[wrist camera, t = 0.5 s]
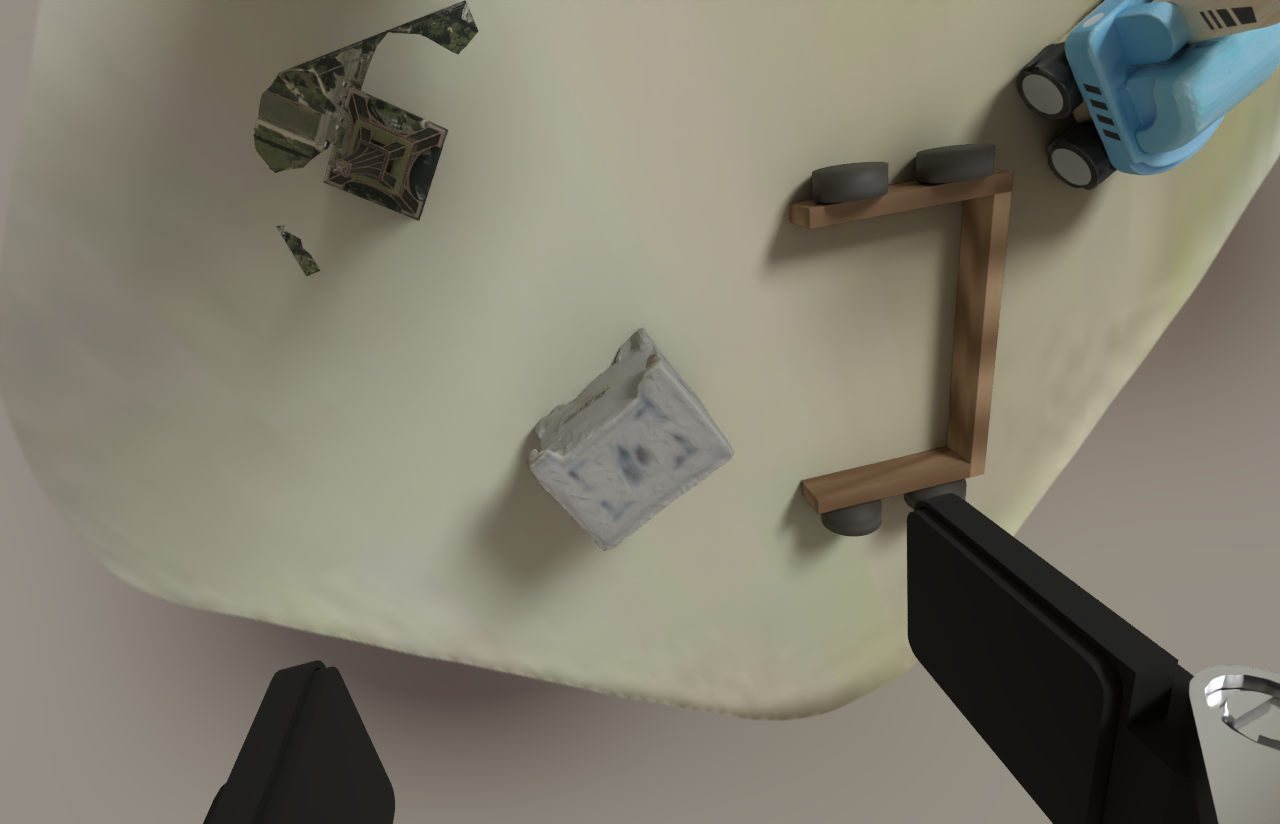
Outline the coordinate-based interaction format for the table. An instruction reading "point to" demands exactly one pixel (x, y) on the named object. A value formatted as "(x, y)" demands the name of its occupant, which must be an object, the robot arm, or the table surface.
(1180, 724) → the robot arm
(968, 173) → the chassis bay
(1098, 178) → the toy excavator
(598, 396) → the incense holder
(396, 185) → the eiffel tower figurine
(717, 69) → the table surface
